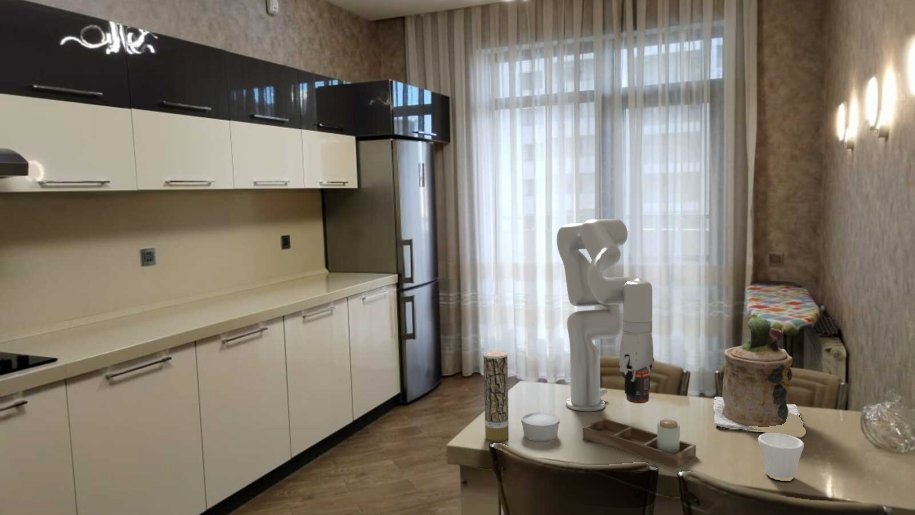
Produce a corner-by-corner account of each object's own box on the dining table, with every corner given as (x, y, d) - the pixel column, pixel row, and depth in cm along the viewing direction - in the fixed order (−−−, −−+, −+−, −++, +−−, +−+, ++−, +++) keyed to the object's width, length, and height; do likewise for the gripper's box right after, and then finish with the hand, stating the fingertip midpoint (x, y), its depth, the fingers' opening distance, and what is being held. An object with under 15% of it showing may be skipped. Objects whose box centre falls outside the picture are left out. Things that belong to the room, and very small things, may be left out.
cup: (766, 464, 164) (767, 429, 163) (809, 476, 157) (810, 439, 156) (750, 477, 157) (751, 440, 156) (793, 490, 150) (795, 452, 149)
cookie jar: (713, 429, 188) (715, 322, 185) (713, 402, 211) (714, 307, 207) (808, 439, 179) (812, 327, 176) (797, 410, 202) (800, 310, 198)
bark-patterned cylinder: (507, 443, 182) (505, 357, 179) (483, 441, 183) (481, 356, 180) (510, 434, 188) (508, 350, 186) (487, 432, 190) (485, 350, 187)
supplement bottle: (649, 398, 176) (649, 357, 175) (648, 405, 170) (648, 363, 169) (627, 396, 178) (627, 356, 177) (625, 403, 172) (625, 362, 171)
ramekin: (529, 426, 194) (528, 409, 193) (565, 432, 189) (564, 414, 188) (515, 440, 184) (515, 422, 184) (552, 446, 179) (552, 427, 178)
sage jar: (664, 450, 173) (664, 417, 172) (683, 456, 169) (683, 422, 168) (653, 456, 169) (653, 422, 168) (672, 462, 165) (673, 428, 164)
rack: (603, 430, 190) (603, 418, 189) (695, 458, 169) (695, 445, 168) (582, 439, 183) (582, 427, 182) (676, 470, 162) (676, 456, 161)
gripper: (642, 320, 181) (642, 382, 182) (607, 330, 169) (607, 396, 171) (666, 323, 175) (666, 387, 177) (632, 334, 163) (632, 402, 165)
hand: (637, 391), depth 174 cm, fingers closed on supplement bottle, 6 cm apart
